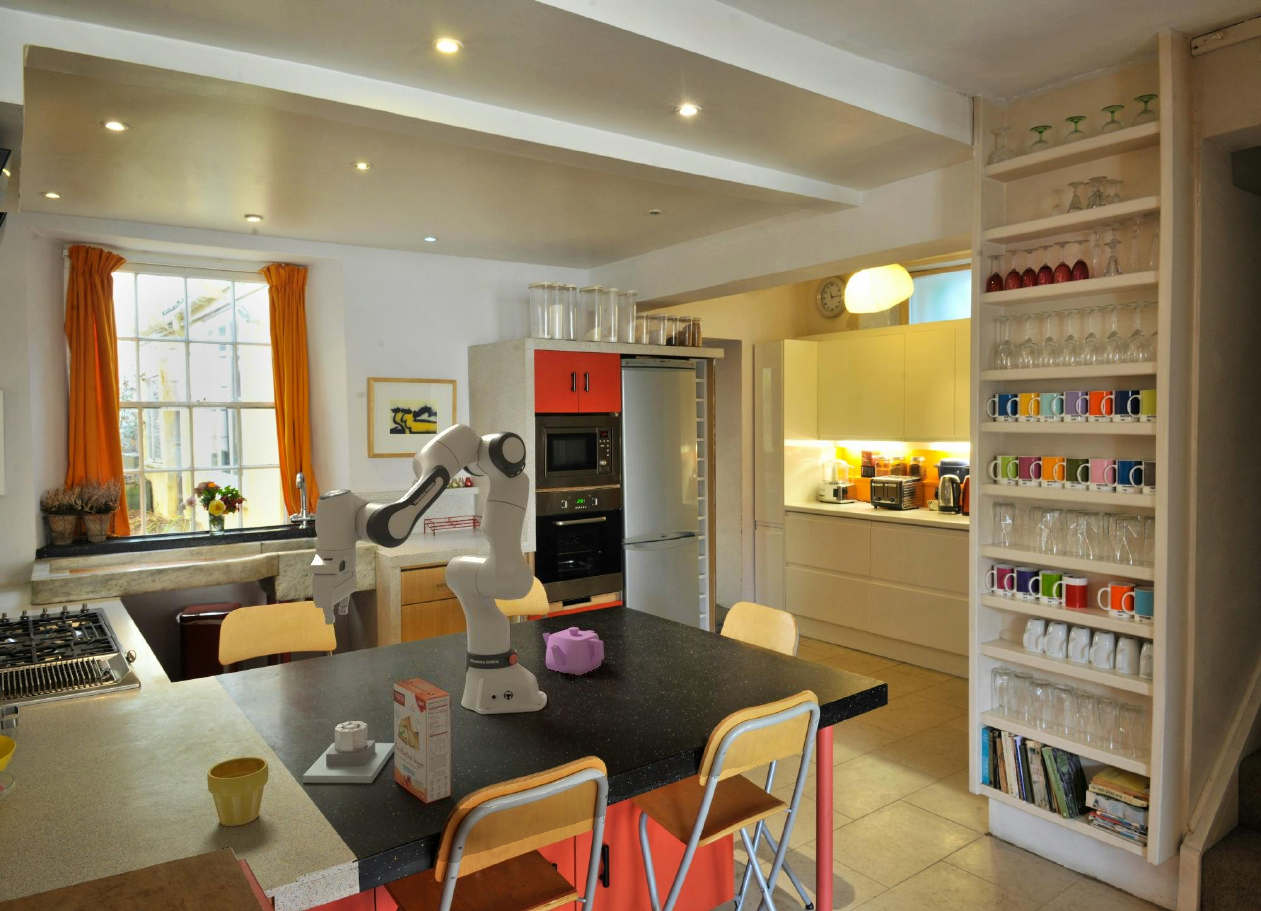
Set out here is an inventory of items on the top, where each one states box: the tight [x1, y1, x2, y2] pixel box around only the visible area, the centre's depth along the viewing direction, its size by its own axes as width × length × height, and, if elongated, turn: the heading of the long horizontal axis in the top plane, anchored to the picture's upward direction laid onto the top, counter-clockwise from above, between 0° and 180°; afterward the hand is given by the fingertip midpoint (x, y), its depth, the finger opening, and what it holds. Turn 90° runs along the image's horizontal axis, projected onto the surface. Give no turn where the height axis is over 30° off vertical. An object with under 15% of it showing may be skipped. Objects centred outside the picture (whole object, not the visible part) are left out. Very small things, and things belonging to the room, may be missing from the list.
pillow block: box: [302, 725, 394, 784], centre depth 184 cm, size 14×18×8 cm
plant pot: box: [206, 756, 269, 827], centre depth 159 cm, size 10×10×10 cm
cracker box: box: [393, 677, 452, 804], centre depth 172 cm, size 14×6×21 cm, turn 41°
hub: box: [334, 720, 368, 752], centre depth 184 cm, size 6×6×4 cm
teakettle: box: [542, 626, 605, 676], centre depth 259 cm, size 17×17×12 cm
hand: (336, 618), depth 199 cm, fingers open, 8 cm apart
